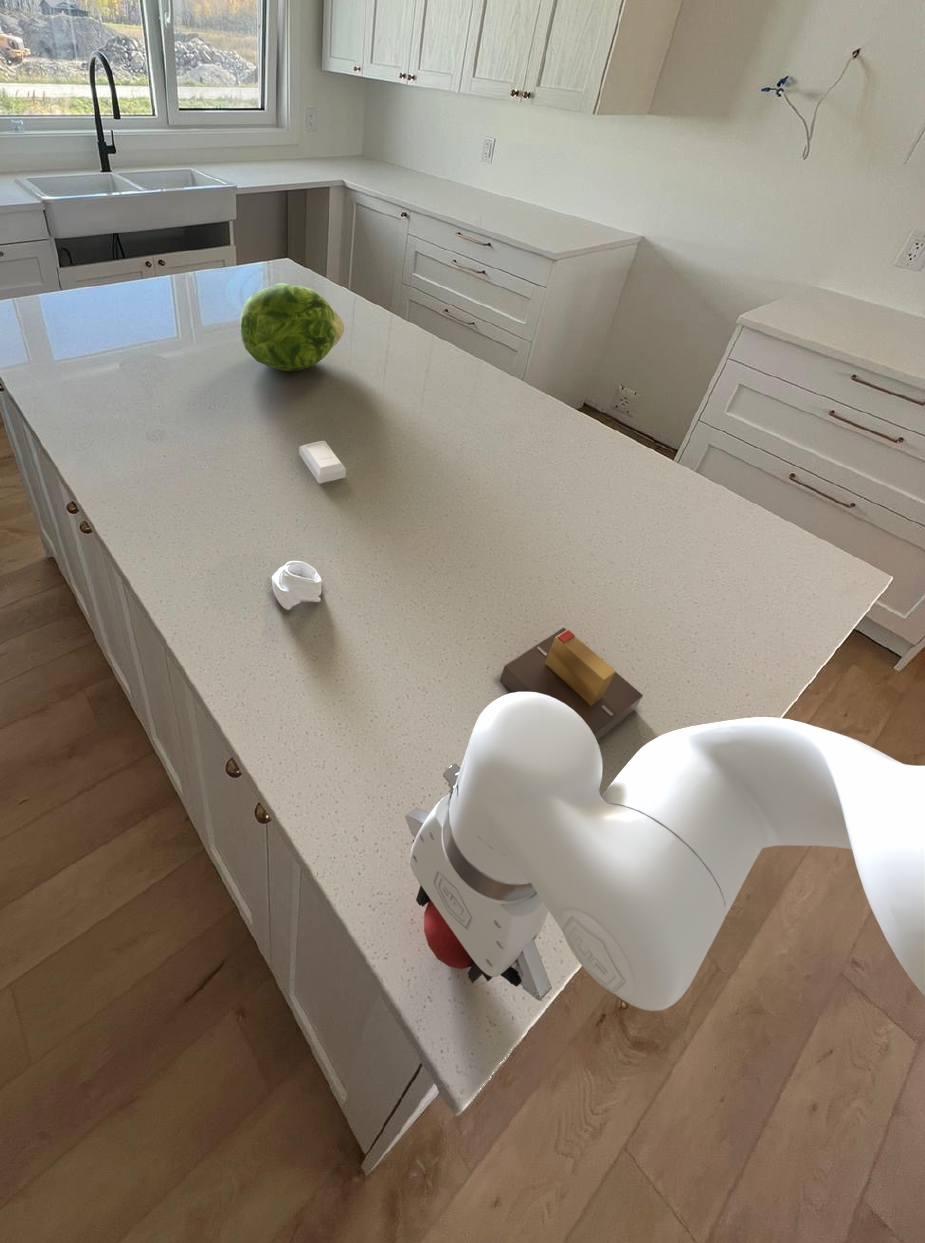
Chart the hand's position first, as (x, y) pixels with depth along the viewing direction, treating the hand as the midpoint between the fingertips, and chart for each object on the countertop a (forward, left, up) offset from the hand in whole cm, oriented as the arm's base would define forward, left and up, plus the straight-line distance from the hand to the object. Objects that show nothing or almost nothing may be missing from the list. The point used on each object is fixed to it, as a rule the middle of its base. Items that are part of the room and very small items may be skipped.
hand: (456, 928), depth 54 cm
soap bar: (+66, -29, -3) cm, 72 cm away
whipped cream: (+43, -10, -3) cm, 44 cm away
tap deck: (+11, -29, -3) cm, 31 cm away
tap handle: (+11, -29, 0) cm, 31 cm away
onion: (0, 0, -3) cm, 3 cm away
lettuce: (+103, -45, -3) cm, 112 cm away
